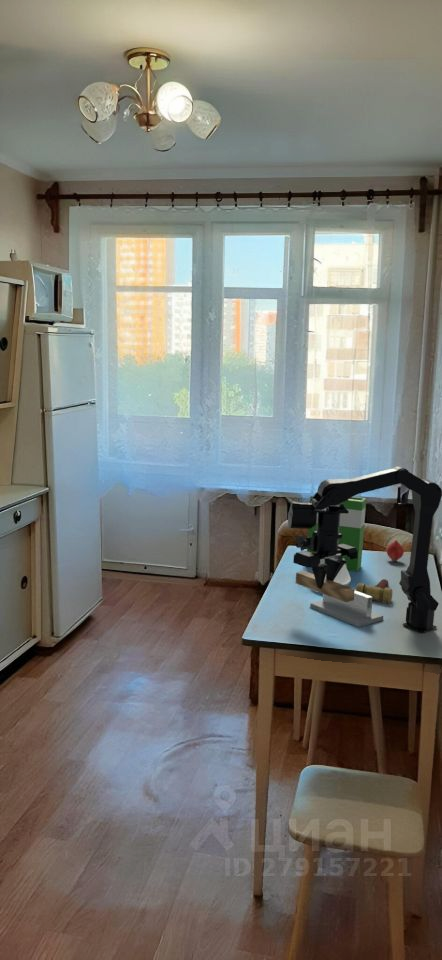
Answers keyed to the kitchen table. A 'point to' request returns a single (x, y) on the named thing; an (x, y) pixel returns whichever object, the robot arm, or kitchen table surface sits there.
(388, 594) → the gavel
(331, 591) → the walnut batten
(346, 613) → the board
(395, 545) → the onion
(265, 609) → the kitchen table surface
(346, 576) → the spoon rest
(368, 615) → the steel ridge
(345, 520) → the hardback book
